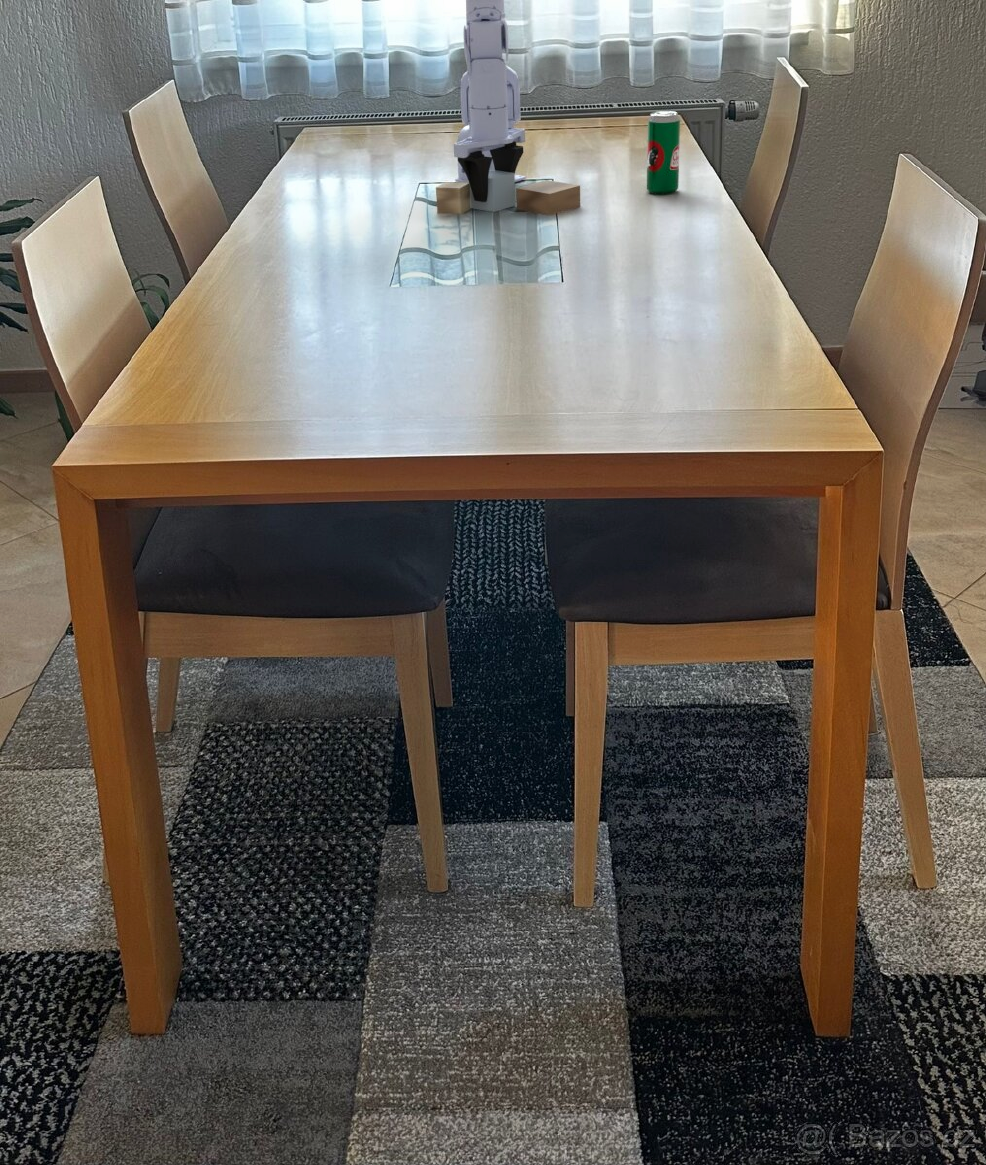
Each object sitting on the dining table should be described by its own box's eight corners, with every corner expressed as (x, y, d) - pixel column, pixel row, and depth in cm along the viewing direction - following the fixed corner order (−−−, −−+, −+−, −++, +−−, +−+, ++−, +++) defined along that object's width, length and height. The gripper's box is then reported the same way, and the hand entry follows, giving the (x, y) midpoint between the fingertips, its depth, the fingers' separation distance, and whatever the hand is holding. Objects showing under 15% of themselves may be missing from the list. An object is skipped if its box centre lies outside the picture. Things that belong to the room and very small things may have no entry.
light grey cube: (470, 207, 202) (469, 175, 200) (491, 201, 206) (490, 169, 203) (494, 211, 199) (492, 178, 197) (515, 205, 203) (514, 172, 200)
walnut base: (516, 210, 201) (516, 188, 199) (547, 202, 205) (546, 179, 203) (550, 217, 196) (549, 193, 195) (580, 208, 201) (580, 185, 199)
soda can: (677, 195, 204) (679, 115, 198) (645, 195, 205) (646, 116, 199) (679, 188, 208) (681, 110, 203) (648, 188, 209) (649, 110, 204)
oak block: (437, 213, 201) (435, 187, 199) (447, 207, 204) (445, 181, 202) (461, 214, 199) (459, 188, 197) (470, 208, 202) (469, 182, 200)
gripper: (476, 115, 188) (480, 209, 195) (539, 100, 198) (541, 191, 204) (441, 111, 192) (446, 204, 199) (504, 97, 202) (507, 186, 208)
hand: (492, 197), depth 202 cm, fingers closed on light grey cube, 5 cm apart
